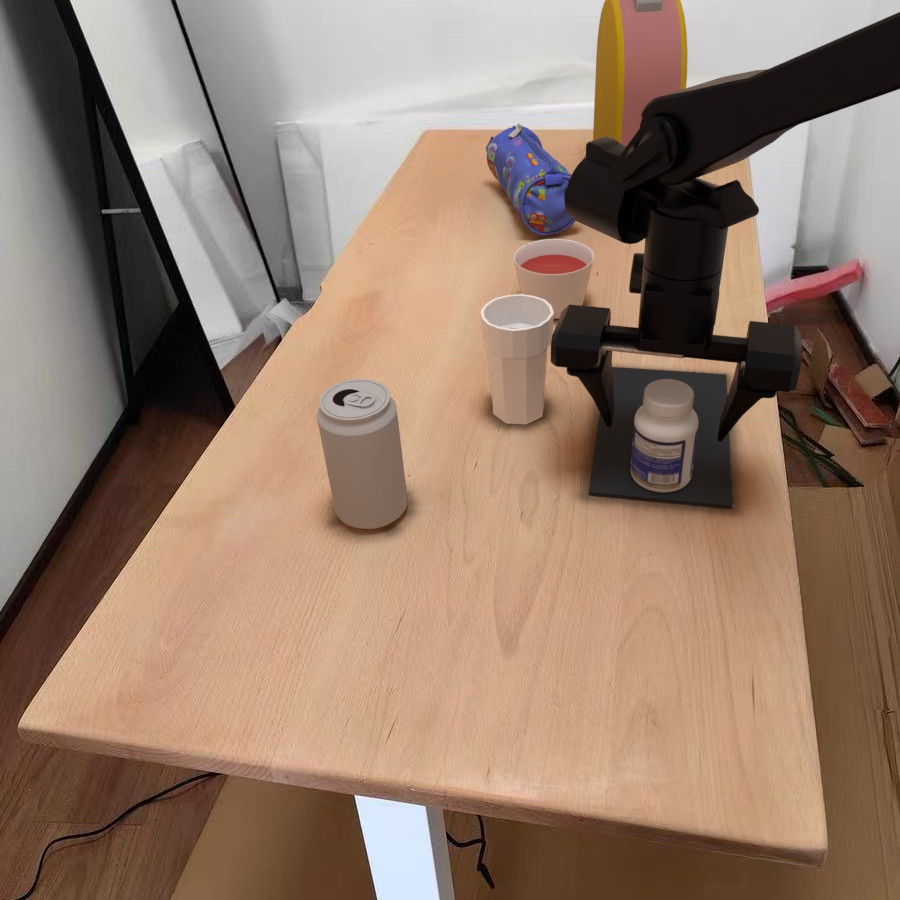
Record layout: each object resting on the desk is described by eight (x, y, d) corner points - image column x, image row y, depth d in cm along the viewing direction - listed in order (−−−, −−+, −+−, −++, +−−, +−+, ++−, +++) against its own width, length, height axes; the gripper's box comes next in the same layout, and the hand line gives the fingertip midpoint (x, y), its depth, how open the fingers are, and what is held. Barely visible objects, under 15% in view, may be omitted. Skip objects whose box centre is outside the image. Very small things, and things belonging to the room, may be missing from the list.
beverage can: (360, 478, 79) (341, 368, 71) (421, 496, 76) (409, 384, 69) (321, 523, 75) (297, 410, 67) (385, 543, 72) (368, 429, 65)
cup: (478, 396, 88) (473, 300, 81) (541, 385, 89) (541, 289, 82) (495, 434, 83) (490, 335, 76) (561, 422, 84) (562, 323, 77)
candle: (579, 283, 105) (581, 234, 101) (601, 319, 98) (604, 268, 94) (507, 292, 105) (506, 244, 101) (524, 329, 98) (523, 279, 94)
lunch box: (675, 203, 122) (697, -3, 105) (610, 207, 122) (622, 2, 106) (648, 151, 138) (663, -35, 122) (591, 155, 139) (599, -30, 122)
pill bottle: (653, 448, 79) (661, 366, 73) (703, 472, 76) (715, 389, 70) (617, 476, 76) (623, 394, 71) (667, 503, 73) (678, 418, 68)
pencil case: (485, 184, 132) (482, 120, 126) (539, 177, 133) (539, 113, 127) (522, 244, 115) (521, 174, 109) (585, 235, 116) (587, 165, 110)
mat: (606, 369, 90) (606, 366, 90) (725, 377, 88) (726, 374, 88) (588, 495, 75) (588, 491, 75) (732, 509, 73) (732, 505, 72)
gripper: (815, 226, 67) (780, 391, 77) (577, 211, 72) (573, 368, 82) (818, 294, 59) (778, 469, 69) (549, 272, 64) (548, 438, 74)
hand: (663, 430), depth 74 cm, fingers open, 9 cm apart
